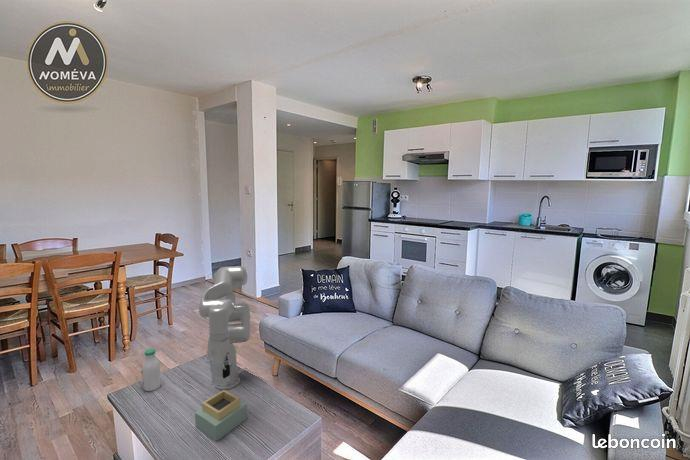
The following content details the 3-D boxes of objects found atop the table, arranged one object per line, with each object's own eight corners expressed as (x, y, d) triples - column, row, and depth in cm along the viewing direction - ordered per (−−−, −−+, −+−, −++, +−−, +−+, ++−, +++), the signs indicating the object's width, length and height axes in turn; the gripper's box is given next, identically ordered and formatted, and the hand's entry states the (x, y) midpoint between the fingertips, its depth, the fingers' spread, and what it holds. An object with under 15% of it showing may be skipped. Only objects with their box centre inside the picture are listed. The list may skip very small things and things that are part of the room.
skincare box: (229, 380, 142) (228, 354, 140) (225, 386, 137) (224, 359, 136) (216, 379, 142) (215, 353, 140) (211, 385, 138) (210, 358, 136)
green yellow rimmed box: (226, 406, 153) (226, 385, 151) (247, 418, 145) (246, 396, 144) (195, 427, 139) (194, 404, 138) (216, 441, 132) (215, 418, 131)
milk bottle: (164, 384, 168) (162, 348, 165) (151, 393, 161) (148, 355, 158) (153, 381, 170) (150, 345, 167) (139, 389, 163) (137, 352, 160)
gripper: (198, 332, 138) (200, 371, 141) (225, 344, 129) (226, 385, 131) (213, 326, 144) (215, 363, 147) (240, 336, 135) (241, 376, 138)
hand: (220, 373), depth 139 cm, fingers closed on skincare box, 7 cm apart
